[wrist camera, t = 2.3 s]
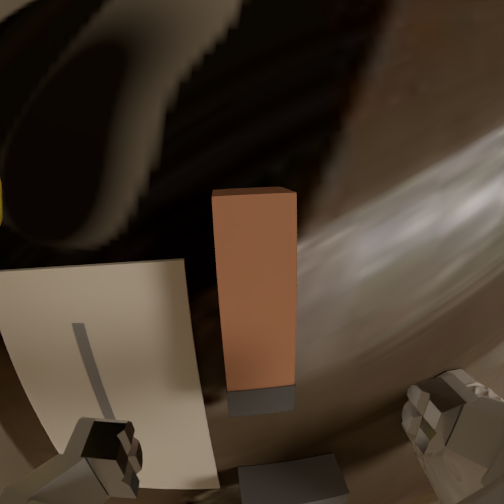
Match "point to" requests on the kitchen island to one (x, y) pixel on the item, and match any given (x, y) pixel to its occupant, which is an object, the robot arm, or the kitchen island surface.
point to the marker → (257, 296)
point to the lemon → (1, 204)
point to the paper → (113, 359)
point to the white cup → (454, 457)
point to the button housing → (294, 482)
